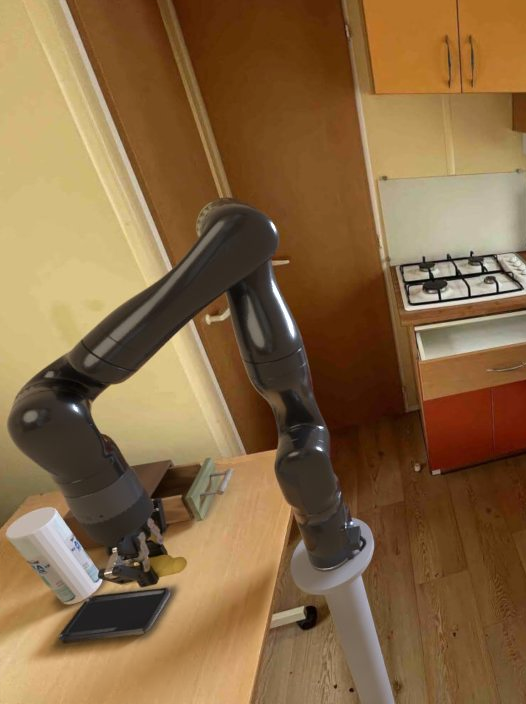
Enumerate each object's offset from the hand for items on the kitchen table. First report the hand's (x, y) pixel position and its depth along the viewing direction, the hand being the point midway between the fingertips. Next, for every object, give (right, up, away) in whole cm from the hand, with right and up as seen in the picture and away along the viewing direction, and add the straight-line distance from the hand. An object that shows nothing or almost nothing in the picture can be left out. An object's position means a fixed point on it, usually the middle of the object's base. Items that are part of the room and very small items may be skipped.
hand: (156, 572), depth 69 cm
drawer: (-19, -3, +33) cm, 39 cm away
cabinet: (-31, -5, +31) cm, 44 cm away
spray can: (-28, -13, +16) cm, 35 cm away
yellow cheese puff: (0, 0, 0) cm, 0 cm away
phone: (-17, -15, +11) cm, 25 cm away
